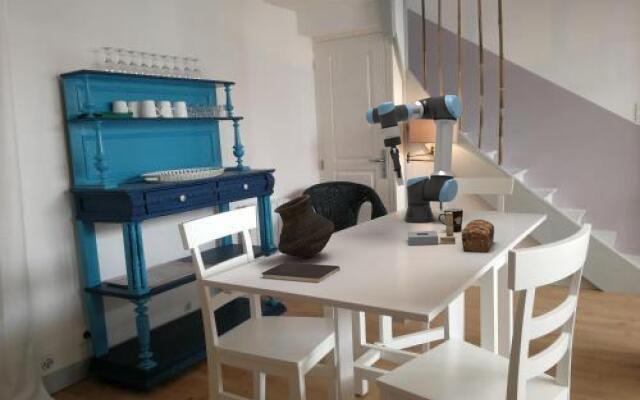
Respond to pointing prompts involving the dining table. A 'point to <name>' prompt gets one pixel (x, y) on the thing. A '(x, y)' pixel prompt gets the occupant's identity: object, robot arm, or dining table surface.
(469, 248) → the bread
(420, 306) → the dining table surface
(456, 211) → the coffee mug
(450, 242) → the short oak peg
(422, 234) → the socket block
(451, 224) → the long oak peg
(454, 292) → the dining table surface
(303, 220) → the ceramic pot
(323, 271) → the hardcover book
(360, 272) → the dining table surface
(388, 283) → the dining table surface
